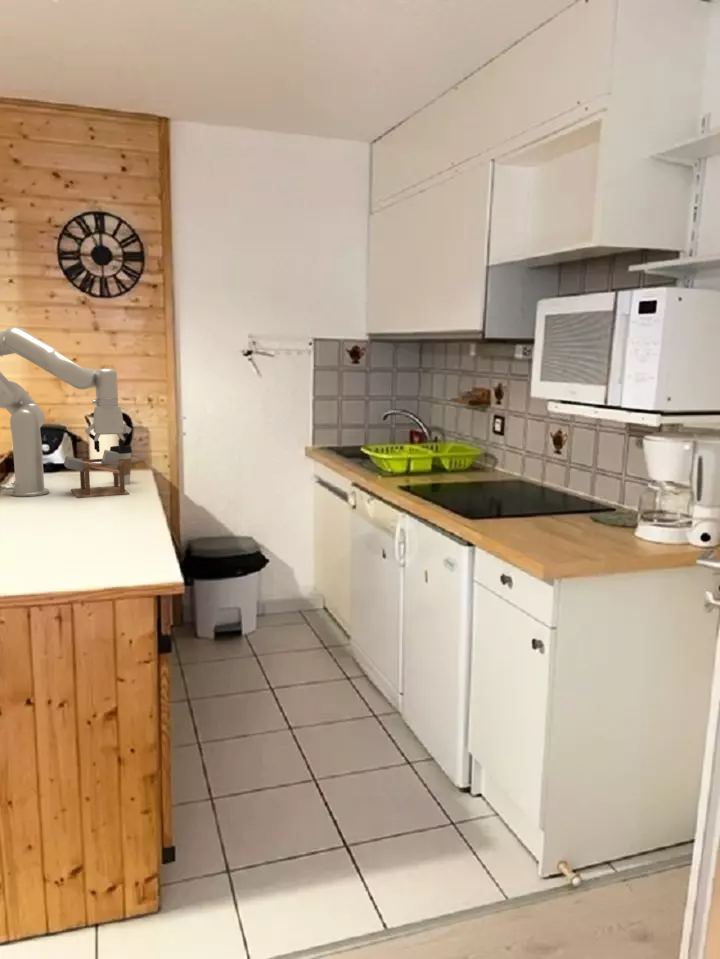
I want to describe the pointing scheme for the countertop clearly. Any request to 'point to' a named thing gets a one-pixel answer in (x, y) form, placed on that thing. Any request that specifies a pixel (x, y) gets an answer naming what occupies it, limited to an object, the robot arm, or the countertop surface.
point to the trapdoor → (82, 465)
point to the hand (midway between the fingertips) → (109, 450)
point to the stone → (110, 458)
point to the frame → (100, 491)
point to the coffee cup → (126, 458)
